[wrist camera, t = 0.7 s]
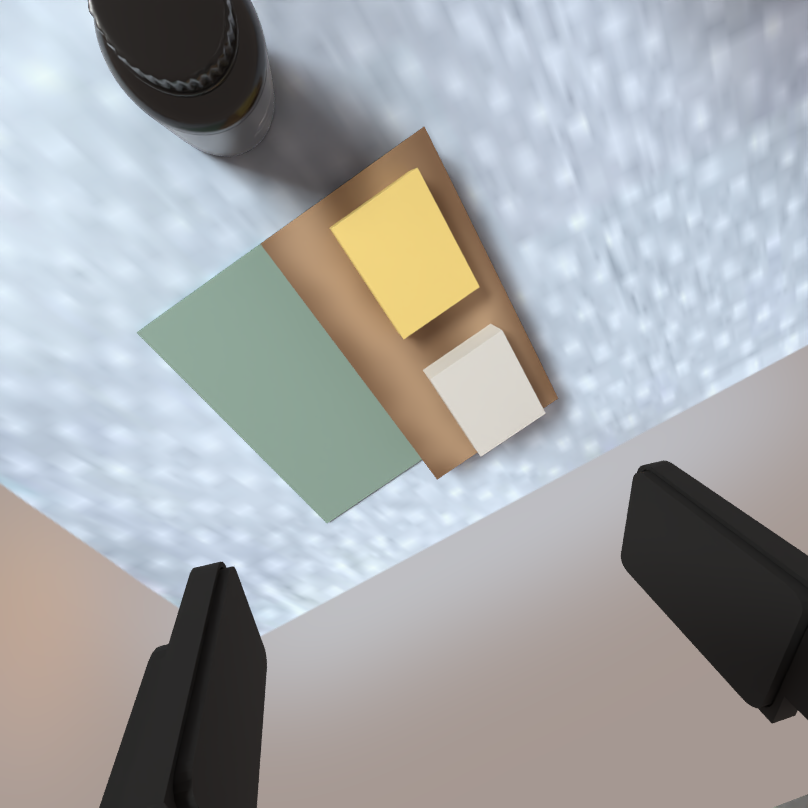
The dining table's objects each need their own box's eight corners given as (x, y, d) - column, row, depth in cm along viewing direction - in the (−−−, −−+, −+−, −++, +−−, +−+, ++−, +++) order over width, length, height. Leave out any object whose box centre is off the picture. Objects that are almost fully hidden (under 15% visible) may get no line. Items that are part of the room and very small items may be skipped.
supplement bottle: (294, 137, 28) (290, 88, 17) (192, 173, 27) (123, 145, 16) (244, 3, 25) (200, -161, 14) (128, 41, 24) (-9, -99, 13)
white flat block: (490, 323, 31) (502, 330, 30) (533, 403, 35) (545, 413, 33) (422, 370, 32) (430, 379, 30) (471, 444, 35) (480, 456, 33)
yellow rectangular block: (409, 170, 26) (417, 167, 24) (468, 282, 30) (479, 287, 28) (329, 228, 26) (331, 228, 25) (397, 332, 30) (403, 339, 28)
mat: (276, 232, 30) (276, 232, 29) (433, 449, 39) (434, 450, 39) (138, 331, 30) (136, 332, 30) (326, 521, 40) (327, 523, 40)
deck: (408, 137, 29) (424, 126, 25) (534, 381, 39) (558, 398, 35) (265, 240, 30) (260, 243, 26) (424, 455, 39) (437, 479, 36)
